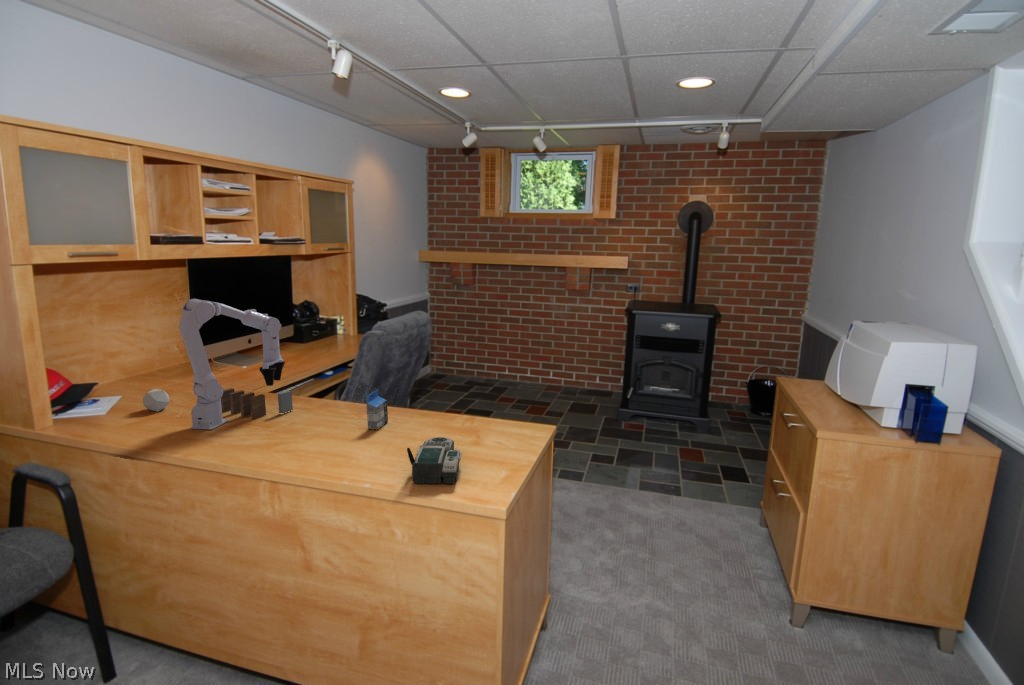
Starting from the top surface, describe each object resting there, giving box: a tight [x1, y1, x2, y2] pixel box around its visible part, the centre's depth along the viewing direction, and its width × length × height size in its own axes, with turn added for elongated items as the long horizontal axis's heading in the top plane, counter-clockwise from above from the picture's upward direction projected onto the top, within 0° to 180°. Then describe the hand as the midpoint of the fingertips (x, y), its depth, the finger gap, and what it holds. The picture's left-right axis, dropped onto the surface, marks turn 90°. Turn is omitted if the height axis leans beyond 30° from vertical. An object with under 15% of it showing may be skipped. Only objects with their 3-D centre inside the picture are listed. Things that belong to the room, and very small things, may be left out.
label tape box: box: [365, 389, 389, 430], centre depth 187 cm, size 9×4×12 cm, turn 168°
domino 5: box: [277, 390, 294, 414], centre depth 200 cm, size 2×5×8 cm, turn 155°
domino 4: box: [250, 394, 267, 420], centre depth 195 cm, size 2×5×8 cm, turn 155°
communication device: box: [406, 436, 463, 485], centre depth 157 cm, size 14×28×10 cm, turn 1°
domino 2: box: [229, 389, 245, 415], centre depth 199 cm, size 2×5×8 cm, turn 155°
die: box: [142, 388, 171, 412], centre depth 200 cm, size 8×9×10 cm
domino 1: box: [221, 387, 235, 413], centre depth 201 cm, size 2×5×8 cm, turn 155°
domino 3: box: [240, 391, 256, 418], centre depth 197 cm, size 2×5×8 cm, turn 155°
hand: (273, 382), depth 203 cm, fingers open, 7 cm apart
